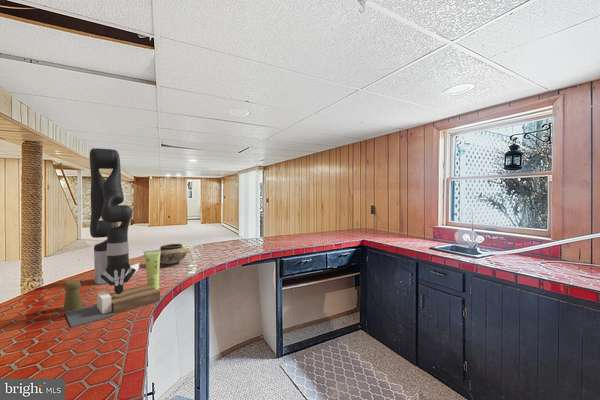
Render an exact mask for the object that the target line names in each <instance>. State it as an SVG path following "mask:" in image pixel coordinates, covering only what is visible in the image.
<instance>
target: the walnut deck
mask: <svg viewBox="0 0 600 400" xmlns="http://www.w3.org/2000/svg"><path fill="white" fill-rule="evenodd" d="M108 294H109V295H110V296H111V305H112V311H113V312H114V314H115V315H116V314H120V313H123V312H126V311H129V310H134V309H137V308H140V307H144V306H147V305H150V304H154V303H157V302H160V301H161V292H160V291H159V289H157V290H156V289H155V288H153V287H152V286H150V285H147V284H146V285H145V284H144V285H142V286H137V287H133V288H129V289H123V292H121V294H116V293H115V292H112V293H111V292H110V293H108Z"/></svg>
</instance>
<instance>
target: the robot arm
mask: <svg viewBox="0 0 600 400" xmlns="http://www.w3.org/2000/svg"><path fill="white" fill-rule="evenodd" d="M89 167H90V168H89V169H90V224H89V233H90V237H92V238H94V239H97V238H98V239H99V238H106V239H105V240H104V241H102V242H99V243H96V244H95V245H94V246H93V261H94V269H93V270H94V271H93V272H94V284H97V285H102V284H108V285H110V286H113V290H114V291H113V293H116V294H121V292H123V291H124V284H125V283H127V282H128V283H129V280H130V279H131V277H132V276H134V275H135V274H136V273H135V271H136V270H135V269H134V268H131V267H130V265H129V259H130V258H129V256H130V255H129V254H130V253H129V251H130V249H129V243H128V242H129V241H128V234H129V233H128V232H129V225H130V222H131V219H132V215H133V209H132V208H131V206H130V205H127V204H123V205H122V203H124V200H125V197H124V191H123V188H122V187H123V186H122V177H121V175H122V173H121V159H120V154H119V151H118V150H116V149H111V148H97V147H94V148H91V149H90V151H89ZM100 169H103V170H111V173H110V174H109V176H107V178H106V179H105V178H104V177H103V175H102V174H101V172H100ZM100 219H101V220H100ZM116 223H120V224H119V225H118V226H116ZM128 270H129V271H128ZM127 271H128V272H129V273H128V274H127V275H126V276H124V275H125V274H126V273H127ZM134 273H135V274H134ZM133 274H134V275H133Z"/></svg>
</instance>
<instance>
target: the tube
mask: <svg viewBox="0 0 600 400" xmlns="http://www.w3.org/2000/svg"><path fill="white" fill-rule="evenodd" d="M153 250H154V251H153ZM153 250H144V251H143V255H144V261H145V271H146V281H147V283H146V285H150V286H152V287H153V288H155V289H156V290H159V289H160V263H161V262H160V253H161V250H156V249H153Z"/></svg>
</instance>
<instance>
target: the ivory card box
mask: <svg viewBox="0 0 600 400" xmlns="http://www.w3.org/2000/svg"><path fill="white" fill-rule="evenodd" d="M109 294H110V293H108V291H106V290H104V291H101V292H97V293H96V304H97V308H98V309H99V310H100V312H101V313H102V314H104V313H108V312H111V311H112V305H111V296H110V295H109Z"/></svg>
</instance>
